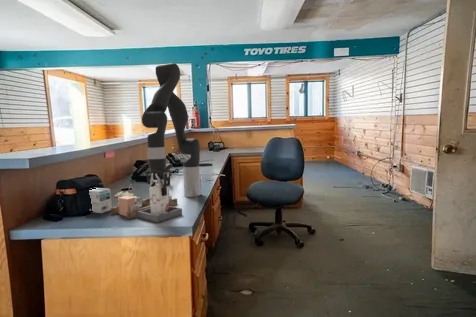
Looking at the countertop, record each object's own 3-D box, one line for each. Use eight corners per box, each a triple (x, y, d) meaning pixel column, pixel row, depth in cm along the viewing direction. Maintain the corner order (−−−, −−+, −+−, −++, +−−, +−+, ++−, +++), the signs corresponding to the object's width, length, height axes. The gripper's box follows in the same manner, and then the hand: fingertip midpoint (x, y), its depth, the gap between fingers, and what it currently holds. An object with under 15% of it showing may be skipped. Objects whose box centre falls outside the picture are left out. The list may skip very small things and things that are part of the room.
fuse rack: (159, 200, 155) (159, 191, 155) (177, 204, 147) (176, 194, 146) (111, 214, 133) (110, 203, 132) (128, 219, 124) (128, 208, 124)
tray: (162, 210, 137) (162, 204, 136) (182, 214, 129) (181, 208, 128) (138, 218, 126) (137, 211, 125) (157, 223, 118) (157, 216, 117)
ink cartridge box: (159, 208, 132) (157, 177, 130) (169, 208, 131) (167, 177, 129) (150, 214, 123) (148, 180, 122) (160, 214, 122) (158, 181, 121)
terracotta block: (127, 212, 135) (126, 195, 135) (136, 214, 131) (134, 197, 130) (119, 214, 132) (118, 197, 131) (128, 216, 128) (127, 199, 127)
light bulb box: (112, 209, 140) (111, 188, 139) (101, 213, 134) (99, 191, 133) (97, 207, 144) (95, 187, 143) (85, 211, 138) (83, 189, 137)
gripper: (174, 157, 123) (176, 194, 125) (153, 156, 132) (155, 191, 133) (160, 159, 117) (162, 198, 119) (139, 157, 126) (142, 194, 127)
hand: (159, 194), depth 126 cm, fingers closed on ink cartridge box, 6 cm apart
